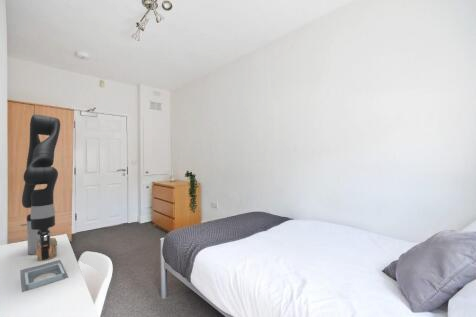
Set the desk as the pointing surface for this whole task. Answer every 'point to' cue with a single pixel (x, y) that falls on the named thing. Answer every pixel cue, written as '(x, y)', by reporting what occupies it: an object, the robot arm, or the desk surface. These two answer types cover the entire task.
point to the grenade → (54, 251)
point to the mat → (39, 274)
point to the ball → (40, 251)
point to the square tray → (44, 276)
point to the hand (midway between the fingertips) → (44, 257)
